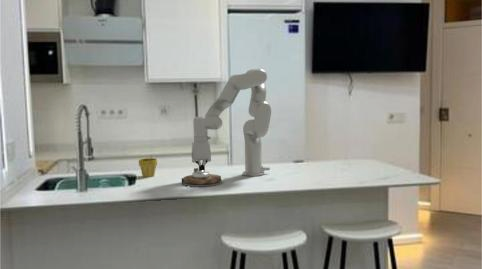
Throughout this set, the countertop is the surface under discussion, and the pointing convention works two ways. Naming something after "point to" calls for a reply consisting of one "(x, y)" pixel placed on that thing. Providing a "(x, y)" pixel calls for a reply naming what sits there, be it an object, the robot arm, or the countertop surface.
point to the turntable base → (202, 185)
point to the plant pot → (148, 166)
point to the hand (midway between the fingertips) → (201, 172)
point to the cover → (200, 174)
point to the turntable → (210, 180)
